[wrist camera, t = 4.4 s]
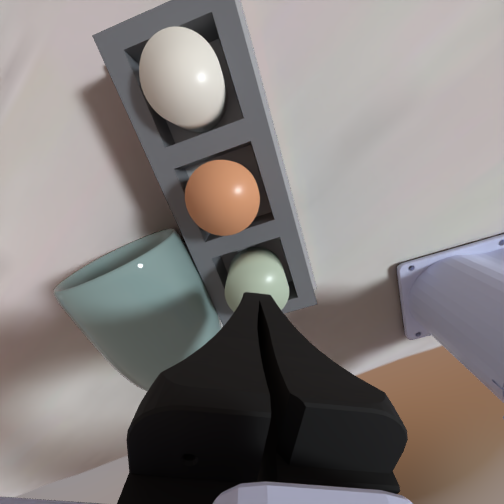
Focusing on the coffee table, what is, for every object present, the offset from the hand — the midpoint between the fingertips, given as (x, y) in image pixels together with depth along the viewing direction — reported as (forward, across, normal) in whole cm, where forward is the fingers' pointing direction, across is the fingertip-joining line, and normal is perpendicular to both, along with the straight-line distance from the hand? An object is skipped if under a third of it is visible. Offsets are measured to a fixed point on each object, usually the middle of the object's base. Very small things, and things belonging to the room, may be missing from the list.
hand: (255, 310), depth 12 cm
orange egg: (+6, +2, -5) cm, 8 cm away
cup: (+5, +4, +9) cm, 11 cm away
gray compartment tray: (+8, +2, -5) cm, 10 cm away
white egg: (+7, +5, -10) cm, 13 cm away
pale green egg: (+6, 0, +1) cm, 6 cm away
